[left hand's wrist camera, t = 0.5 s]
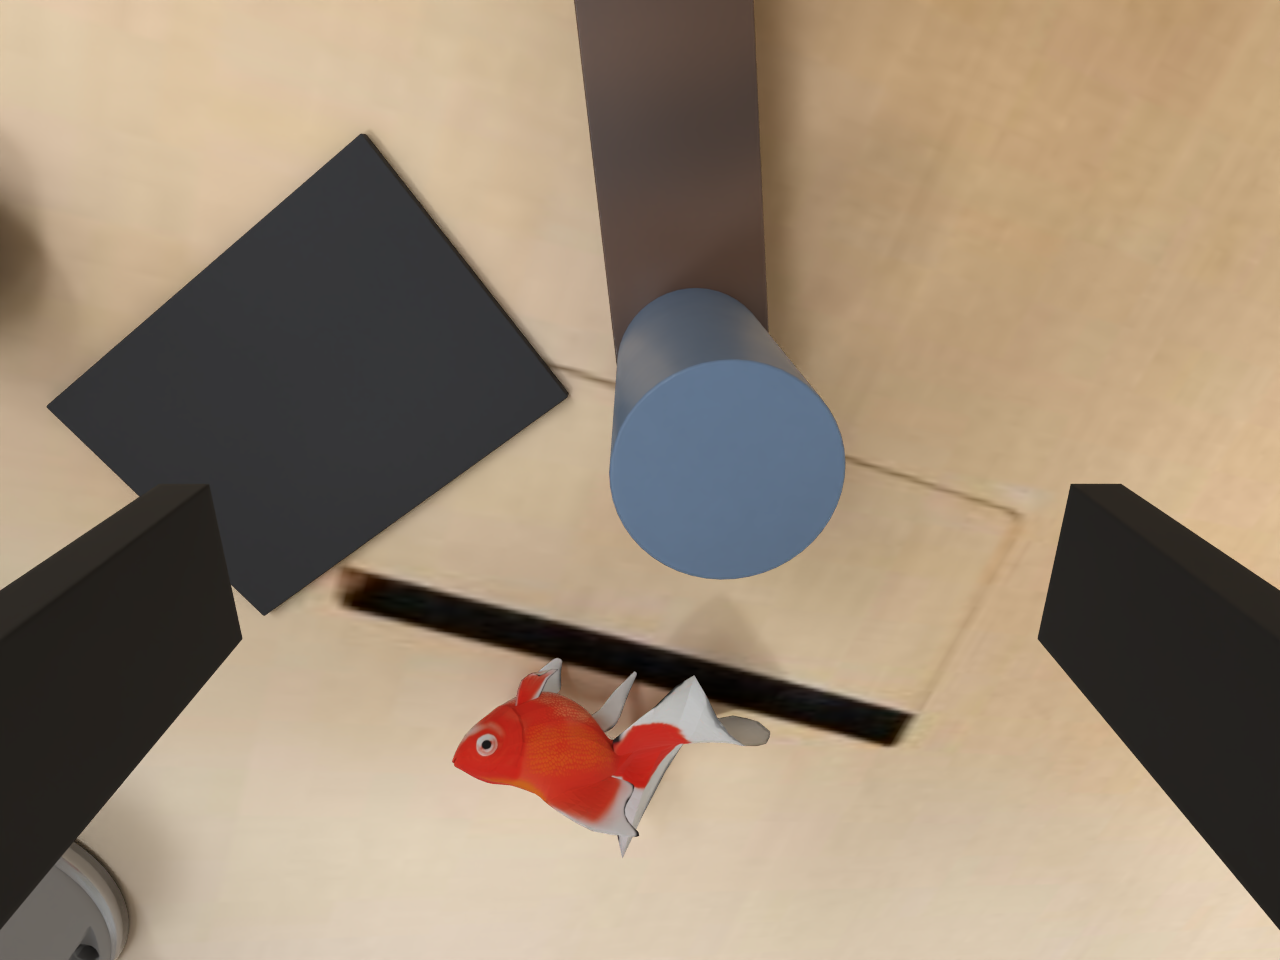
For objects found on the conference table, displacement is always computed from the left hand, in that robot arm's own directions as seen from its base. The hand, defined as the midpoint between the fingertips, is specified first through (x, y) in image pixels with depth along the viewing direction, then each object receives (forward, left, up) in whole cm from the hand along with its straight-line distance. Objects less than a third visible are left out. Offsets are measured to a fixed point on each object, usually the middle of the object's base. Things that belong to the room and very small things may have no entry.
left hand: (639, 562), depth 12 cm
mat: (-15, +5, -26) cm, 30 cm away
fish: (-13, -17, -26) cm, 33 cm away
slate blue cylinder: (+1, -3, -20) cm, 20 cm away
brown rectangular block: (+5, +4, -26) cm, 27 cm away
